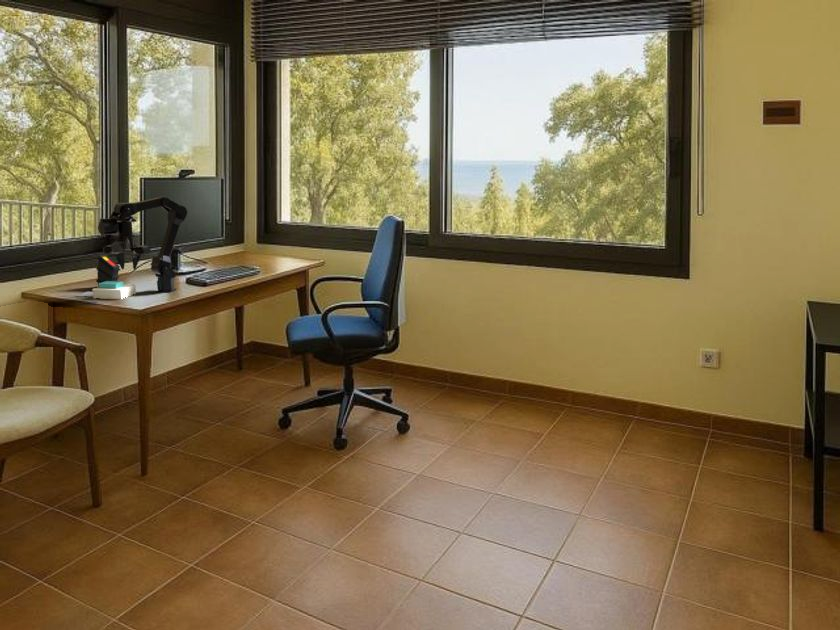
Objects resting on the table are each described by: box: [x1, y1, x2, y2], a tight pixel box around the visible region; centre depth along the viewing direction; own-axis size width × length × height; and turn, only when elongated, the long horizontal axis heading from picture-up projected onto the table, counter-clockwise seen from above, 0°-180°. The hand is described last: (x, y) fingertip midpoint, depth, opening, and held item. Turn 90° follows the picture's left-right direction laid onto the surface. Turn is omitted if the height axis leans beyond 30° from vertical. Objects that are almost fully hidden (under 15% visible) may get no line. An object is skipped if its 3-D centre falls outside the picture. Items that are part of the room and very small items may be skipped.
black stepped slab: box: [96, 254, 121, 288], centre depth 339 cm, size 4×13×15 cm, turn 58°
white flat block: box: [91, 283, 137, 300], centre depth 323 cm, size 13×12×4 cm
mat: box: [75, 291, 93, 298], centre depth 326 cm, size 10×9×1 cm
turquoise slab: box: [99, 280, 125, 289], centre depth 321 cm, size 8×6×2 cm
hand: (128, 269), depth 318 cm, fingers open, 5 cm apart
